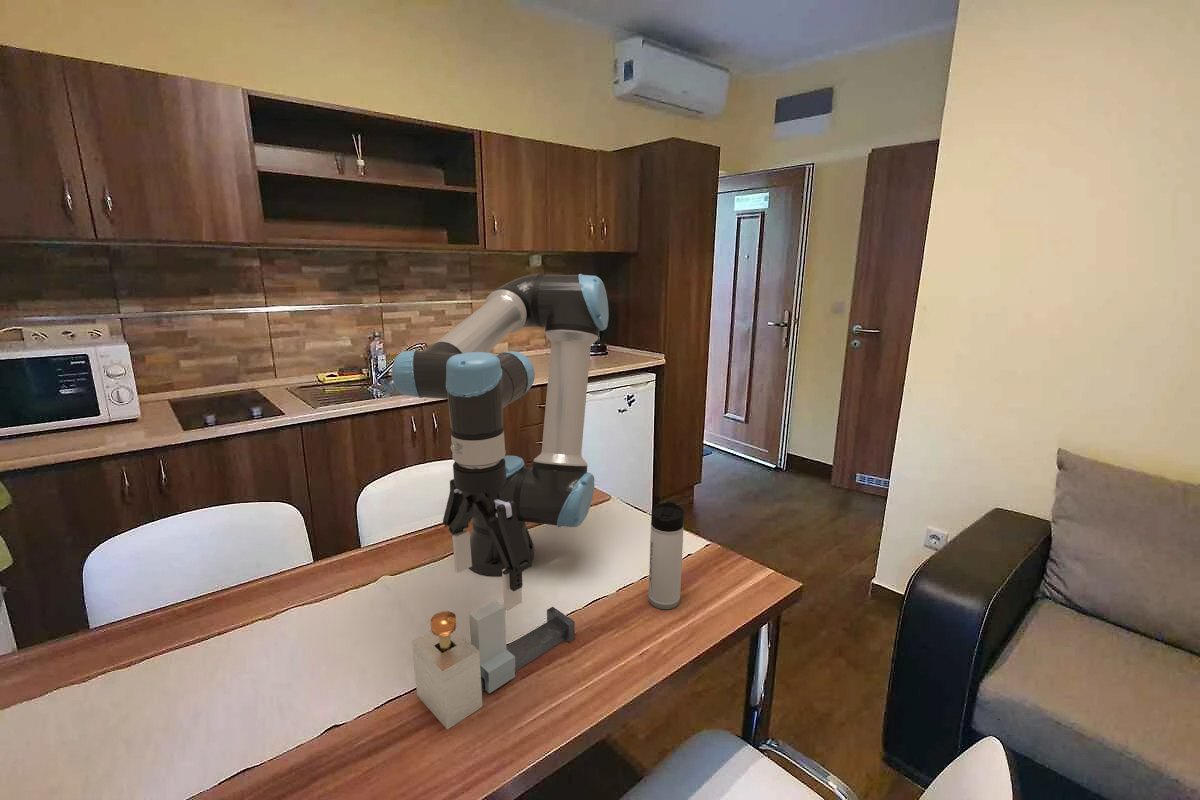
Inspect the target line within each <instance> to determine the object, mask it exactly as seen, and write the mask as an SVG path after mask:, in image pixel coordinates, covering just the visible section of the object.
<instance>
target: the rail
mask: <svg viewBox="0 0 1200 800" xmlns="http://www.w3.org/2000/svg"><path fill="white" fill-rule="evenodd" d="M575 624H576V623H575V620H573V619H571V618H570V617H569V616H567V615H566V614H564V613H563V612H562V611H560V610H559V609H557V608H556V607H554V606H551V607H550V608H548V609H546V622H544V623H542V624H541V625H540V626H538V627H536V628H535V629H532V630H531V631H529V632H527V633H526V634H524V635H522V636H521V637H519V638H517V639H515V640H513V641H512V642H511V643H509V644H508V643H507V644H506V649H507V650H508V651H509V652H510V653H511V654H512V655H514V656H515V672H516V671H518V670H519V669H521V668H523V667H525V666H526V665H527V664H529V663H531V662H532V661H534V660H535V659H537V658H538V657H541V656H542V655H544V654H545V653H547V652H549V651H550V650H552V649H553V648H555V647H556V646H557V645H559V644H561V643H563V642H564V641H566V642H568V643H570V642H572V641H574V640H575V638H576V636H575V634H576V633H575V632H576V631H575V629H576V627H575V626H576V625H575ZM450 640H451V649H449V650H448V651H446V652H444V653H441V652H440V644H439V636H436V635H434V634H433V633H432V632H431V630H430V631H429V632H426V633H424V634H422V635H420V636H418V637H416V638H414V639H413V640H412V641H411V643H412V644H411V645H412V655H413V663H414V675H415V677H414V678H415V686H416V687H415V688H416V696H417V698H418V699H419V700H420V701H421V702H422V703H423V704H424V705H425V707H427V708H428V710H430V712H431V713H432V714H433V716H434V717H435V718H436V719H437V720H438V721H439V722H440V723H441V724H442V726H443V727H444V728H445V729H446V730H447V731H448V730H449V729H450V728H452V727H454V726H455V725H457V724H458V723H460V722H462V721H463V720H464V719H466V718H467V717H469V716H471V715H472V714H474V713H475V712H477V711H479V709H482V708H483V692H486V690H485V679H484V678H483V677H482V676H481V671H480V654H479V650H478V649H477V648H476V647H475V646H474V645H472V644H471V641H469V640H468V639H467V638H465V636H464V635H462V634H461V633H460V632H459V631H458V630H456V629H455V631H454V632H453V633H451V634H450Z"/></svg>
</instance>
